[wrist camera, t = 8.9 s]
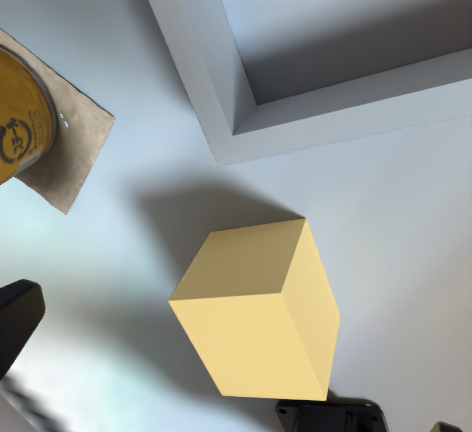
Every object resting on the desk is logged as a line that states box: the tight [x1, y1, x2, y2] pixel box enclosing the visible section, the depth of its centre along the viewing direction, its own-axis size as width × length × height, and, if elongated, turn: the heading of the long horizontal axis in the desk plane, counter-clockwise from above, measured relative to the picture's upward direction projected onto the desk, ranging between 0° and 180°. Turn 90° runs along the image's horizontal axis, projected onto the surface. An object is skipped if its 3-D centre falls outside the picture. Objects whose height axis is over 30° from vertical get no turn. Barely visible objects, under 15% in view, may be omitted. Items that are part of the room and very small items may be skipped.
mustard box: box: [168, 218, 341, 401], centre depth 20 cm, size 6×5×5 cm
